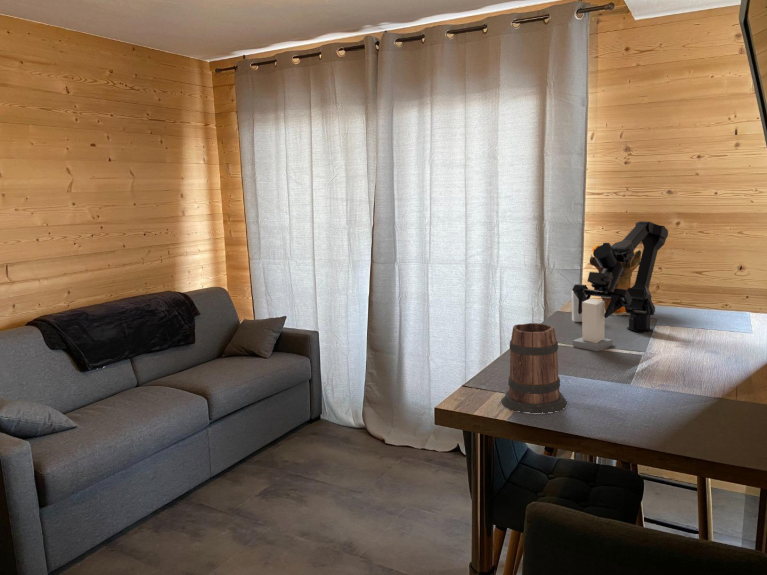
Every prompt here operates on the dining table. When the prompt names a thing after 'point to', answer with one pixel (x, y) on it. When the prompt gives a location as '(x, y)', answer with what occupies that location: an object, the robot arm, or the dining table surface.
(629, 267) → the decorative vase
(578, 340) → the tower top
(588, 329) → the tall block
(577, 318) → the skincare box
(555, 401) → the tankard
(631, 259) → the robot arm
